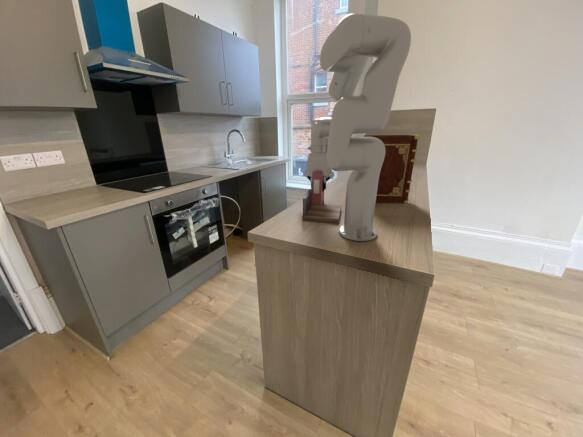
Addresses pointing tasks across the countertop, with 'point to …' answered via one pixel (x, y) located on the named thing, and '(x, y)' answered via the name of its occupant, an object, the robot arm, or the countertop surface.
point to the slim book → (317, 187)
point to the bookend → (307, 202)
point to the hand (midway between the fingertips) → (318, 190)
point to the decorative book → (396, 168)
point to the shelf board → (323, 214)
